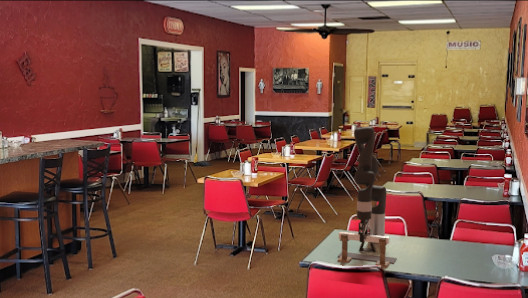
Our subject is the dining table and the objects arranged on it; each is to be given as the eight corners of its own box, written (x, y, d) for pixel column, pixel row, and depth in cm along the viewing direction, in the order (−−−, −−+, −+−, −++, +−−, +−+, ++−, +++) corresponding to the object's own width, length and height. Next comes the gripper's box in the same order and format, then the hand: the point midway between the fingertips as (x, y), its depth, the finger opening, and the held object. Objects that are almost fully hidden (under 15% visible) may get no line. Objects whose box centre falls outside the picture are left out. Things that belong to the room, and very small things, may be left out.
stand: (340, 258, 306) (340, 231, 304) (389, 264, 296) (390, 236, 294) (337, 261, 300) (337, 234, 298) (387, 267, 290) (387, 239, 289)
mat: (341, 252, 316) (341, 251, 316) (396, 259, 305) (396, 257, 305) (337, 257, 308) (337, 256, 308) (393, 263, 296) (393, 262, 296)
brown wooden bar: (340, 237, 303) (340, 231, 303) (389, 242, 293) (389, 236, 293) (338, 238, 300) (338, 233, 300) (388, 243, 290) (388, 238, 290)
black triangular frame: (358, 251, 319) (359, 230, 318) (359, 248, 325) (360, 227, 324) (375, 252, 317) (375, 231, 316) (375, 249, 323) (376, 228, 322)
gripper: (360, 206, 303) (359, 236, 305) (353, 211, 290) (353, 242, 291) (374, 207, 300) (373, 237, 302) (368, 212, 287) (367, 244, 289)
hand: (363, 240), depth 297 cm, fingers open, 8 cm apart
